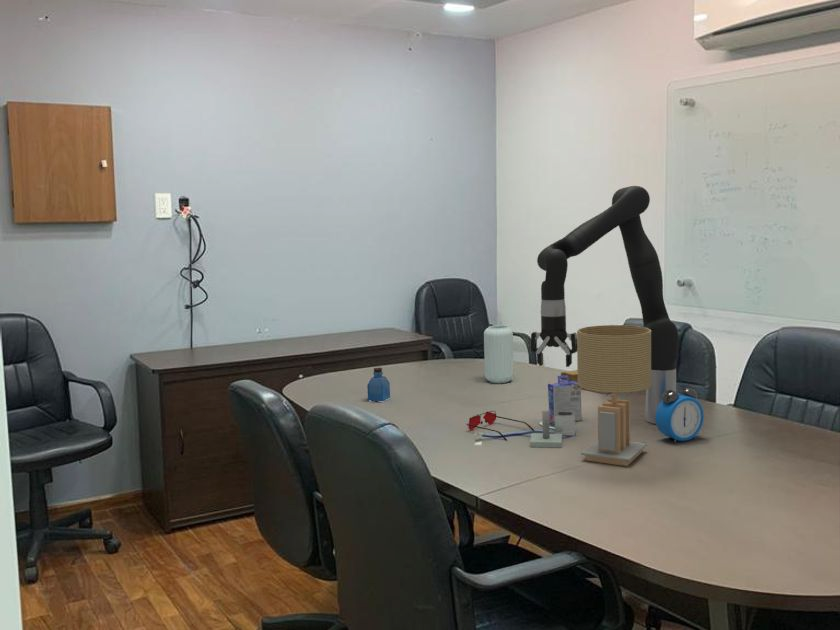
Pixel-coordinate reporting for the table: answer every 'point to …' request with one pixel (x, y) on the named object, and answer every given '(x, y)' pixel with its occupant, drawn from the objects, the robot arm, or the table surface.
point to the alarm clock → (679, 414)
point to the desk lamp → (614, 384)
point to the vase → (498, 354)
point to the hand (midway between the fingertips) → (554, 365)
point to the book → (574, 377)
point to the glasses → (488, 421)
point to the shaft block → (546, 435)
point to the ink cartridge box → (564, 398)
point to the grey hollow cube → (565, 423)
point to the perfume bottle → (378, 386)
